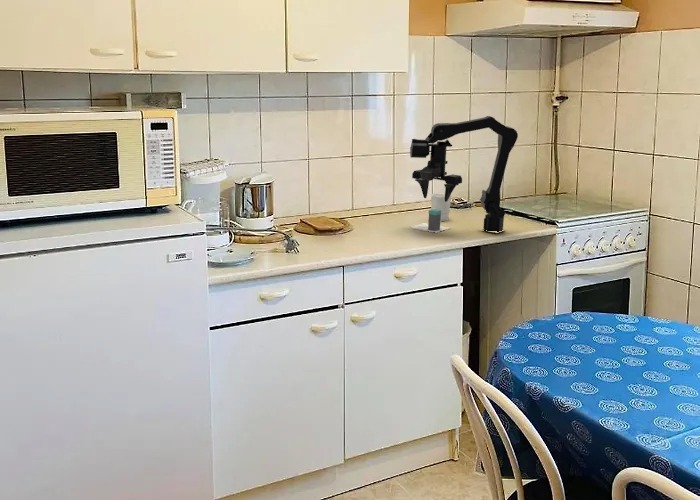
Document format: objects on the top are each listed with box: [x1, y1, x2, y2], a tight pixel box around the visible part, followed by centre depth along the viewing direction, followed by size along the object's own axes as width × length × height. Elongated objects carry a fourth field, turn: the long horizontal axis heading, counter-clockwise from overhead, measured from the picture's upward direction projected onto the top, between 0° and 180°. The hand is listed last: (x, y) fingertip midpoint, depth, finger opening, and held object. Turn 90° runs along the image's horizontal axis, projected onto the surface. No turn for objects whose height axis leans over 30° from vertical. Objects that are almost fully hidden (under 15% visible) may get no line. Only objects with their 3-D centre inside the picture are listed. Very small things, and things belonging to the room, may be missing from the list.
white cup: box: [430, 192, 452, 222], centre depth 307 cm, size 8×8×10 cm
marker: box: [427, 209, 441, 231], centre depth 288 cm, size 3×3×7 cm
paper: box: [409, 222, 451, 234], centre depth 293 cm, size 12×10×1 cm
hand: (435, 199), depth 287 cm, fingers open, 9 cm apart
